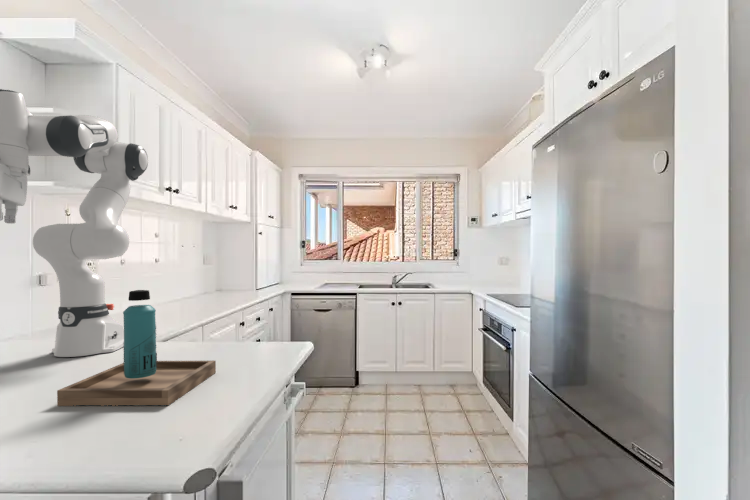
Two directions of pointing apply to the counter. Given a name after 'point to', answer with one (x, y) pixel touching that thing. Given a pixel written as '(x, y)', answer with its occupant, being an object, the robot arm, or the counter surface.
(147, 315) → the beverage bottle
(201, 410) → the counter surface
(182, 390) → the walnut tray
